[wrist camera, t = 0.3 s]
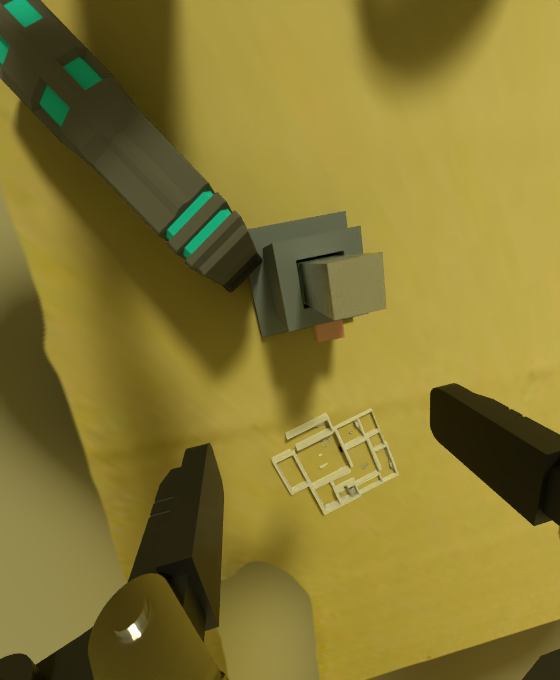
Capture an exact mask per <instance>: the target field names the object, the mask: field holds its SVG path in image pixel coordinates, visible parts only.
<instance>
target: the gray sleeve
mask: <svg viewBox="0 0 560 680" xmlns="http://www.w3.org/2000/svg"><path fill="white" fill-rule="evenodd" d="M248 232H249V234H250V236H251V238H252V240H253V243H254V245H255V248H256V250H257V253H258V254H259V255H260V257H261V258H262V263H261V264H260V265H259V266H258V267H257V268H256V269H255V270H254V271H253V272H252V273H251V274H250V275H249V280H250V285H251V289H252V294H253V298H254V303H255V307H256V312H257V316H258V321H259V325H260V330H261V334H262V337H265V336H269V335H274V334H278V333H282V332H287V331H289V332H291V331H295V330H299V329H304V328H308V327H312V326H313V330H314V336H315V340H316V341H317V342H318V343H321V342H325V341H329V340H333V339H338V338H342V337H345V335H344V327H343V319H347V318H343V319H339V320H333V319H331V318H329V317H327V316H326V315H324V314H322V313H320V312H319V311H317V310H315V309H313V308H312V307H310V306H308V305H306V304H303V300H302V294H301V288H300V282H299V276H298V270H297V264H296V261H301V260H306V259H311V258H316V257H327V256H332V255H337V256H339V255H352V254H363V247H362V236H361V226H356V227H351V228H347V221H346V211H343V212H338V213H332V214H327V215H322V216H316V217H311V218H306V219H301V220H295V221H290V222H285V223H279V224H274V225H269V226H264V227H258V228H253V229H248ZM365 314H368V313H365ZM361 315H364V314H361ZM356 316H360V315H356ZM352 317H355V316H352ZM348 318H351V317H348Z"/></svg>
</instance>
